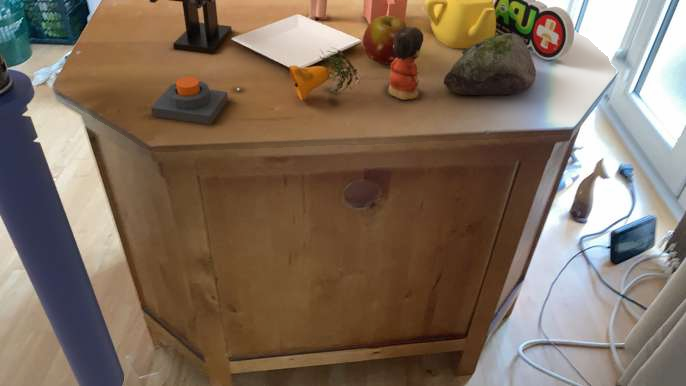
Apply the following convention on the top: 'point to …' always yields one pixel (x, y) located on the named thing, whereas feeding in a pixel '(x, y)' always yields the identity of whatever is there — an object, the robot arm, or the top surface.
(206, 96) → the control block
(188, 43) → the switch bracket
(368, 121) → the top surface
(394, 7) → the pink blocky piece
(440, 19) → the teapot
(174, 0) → the switch lever
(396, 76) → the figurine
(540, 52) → the sign
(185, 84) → the button
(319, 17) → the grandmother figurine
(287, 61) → the plate
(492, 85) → the stone
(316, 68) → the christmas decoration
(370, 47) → the fruit
